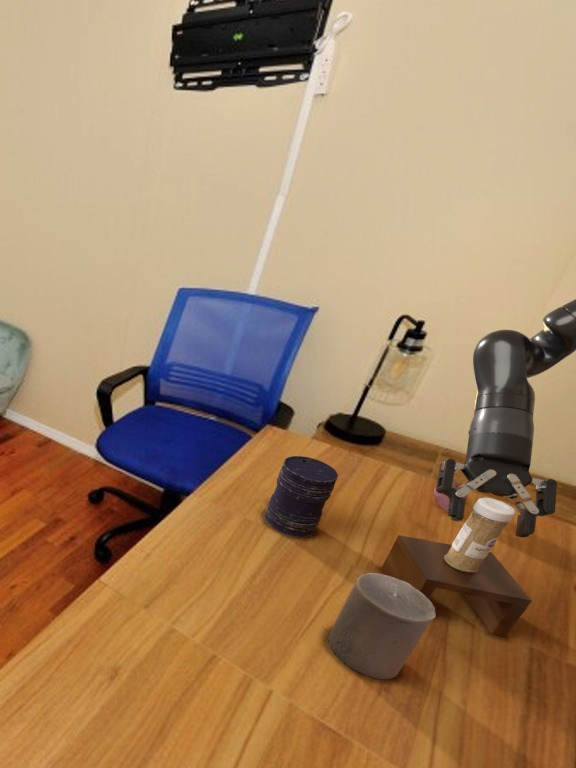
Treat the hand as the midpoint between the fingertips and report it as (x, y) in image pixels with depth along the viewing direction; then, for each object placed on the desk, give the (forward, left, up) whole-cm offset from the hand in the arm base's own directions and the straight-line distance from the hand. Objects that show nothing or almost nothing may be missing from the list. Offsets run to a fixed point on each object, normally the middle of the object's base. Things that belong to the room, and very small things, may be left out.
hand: (489, 528), depth 85 cm
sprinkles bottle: (0, -2, -10) cm, 10 cm away
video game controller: (-15, -37, -19) cm, 45 cm away
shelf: (0, -1, -19) cm, 19 cm away
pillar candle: (+17, +17, -19) cm, 30 cm away
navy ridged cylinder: (+21, -17, -19) cm, 33 cm away
